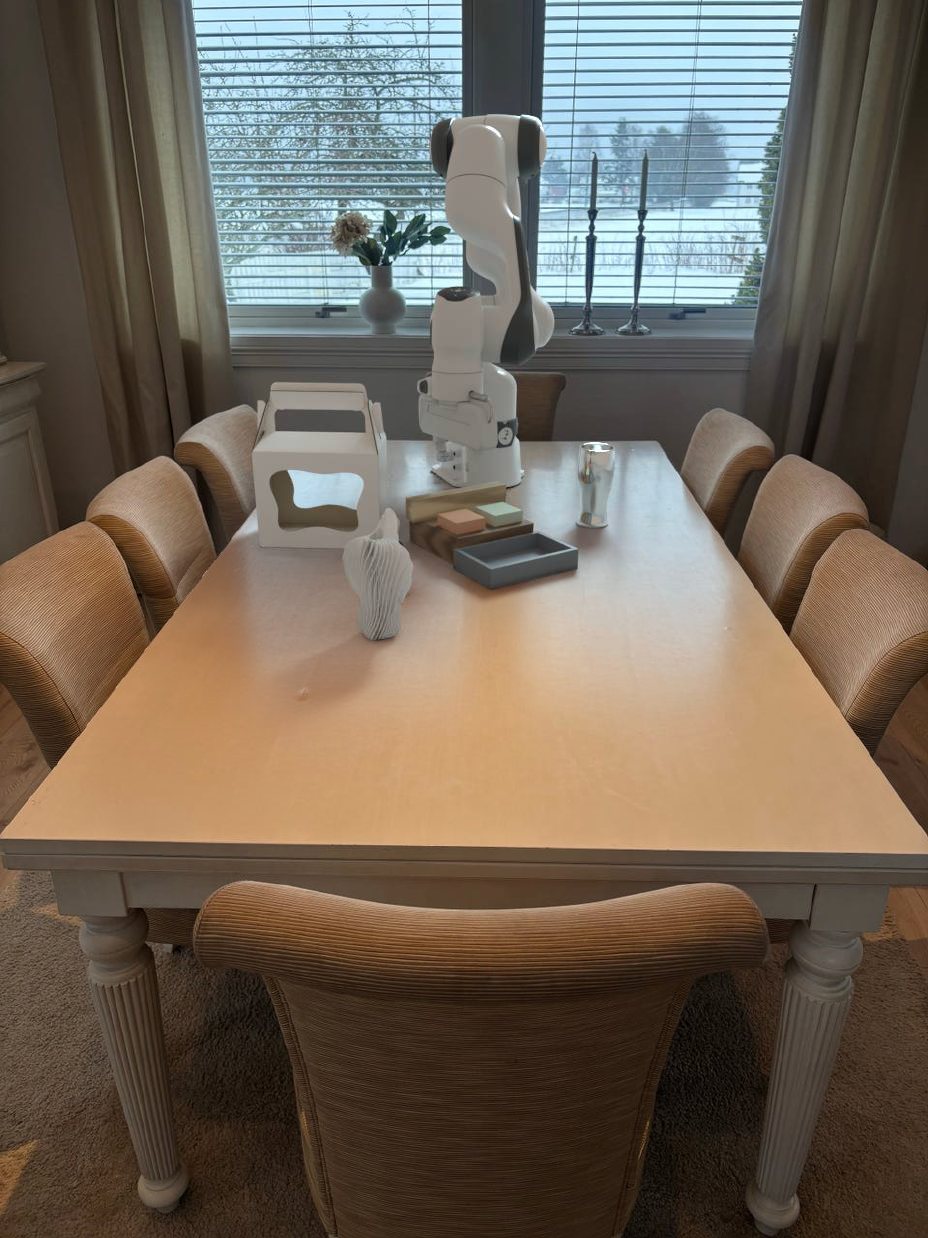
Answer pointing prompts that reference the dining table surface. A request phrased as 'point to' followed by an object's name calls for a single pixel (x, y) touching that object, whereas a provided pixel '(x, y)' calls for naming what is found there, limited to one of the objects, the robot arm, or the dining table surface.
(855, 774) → the dining table surface
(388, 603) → the shell sculpture
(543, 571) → the box
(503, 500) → the bar
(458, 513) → the terracotta tile
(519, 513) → the sage tile
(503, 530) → the dark wooden square block
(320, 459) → the gable box
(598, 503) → the beer glass
